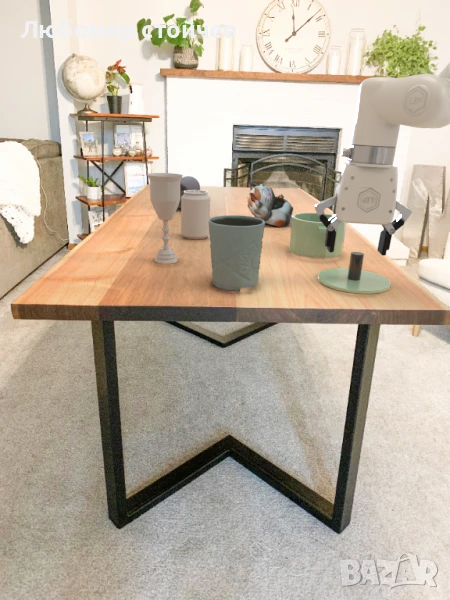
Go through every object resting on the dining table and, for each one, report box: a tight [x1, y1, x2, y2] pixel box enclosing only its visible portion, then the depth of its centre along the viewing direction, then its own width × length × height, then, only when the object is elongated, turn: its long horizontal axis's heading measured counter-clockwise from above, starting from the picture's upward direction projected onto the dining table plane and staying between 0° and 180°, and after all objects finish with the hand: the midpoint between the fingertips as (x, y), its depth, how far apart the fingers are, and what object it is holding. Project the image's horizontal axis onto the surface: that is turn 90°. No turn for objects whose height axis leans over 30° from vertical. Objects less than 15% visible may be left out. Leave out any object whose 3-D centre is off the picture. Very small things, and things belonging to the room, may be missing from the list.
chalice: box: [146, 172, 184, 265], centre depth 93 cm, size 7×7×18 cm
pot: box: [287, 212, 347, 259], centre depth 105 cm, size 13×18×8 cm
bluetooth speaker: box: [177, 176, 201, 209], centre depth 160 cm, size 23×9×10 cm, turn 174°
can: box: [180, 189, 211, 240], centre depth 115 cm, size 8×8×12 cm
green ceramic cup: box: [208, 214, 266, 292], centre depth 81 cm, size 10×10×12 cm
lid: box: [317, 251, 392, 295], centre depth 84 cm, size 14×14×6 cm
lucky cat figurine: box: [246, 182, 294, 228], centre depth 135 cm, size 15×12×14 cm
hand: (355, 251), depth 83 cm, fingers open, 9 cm apart
